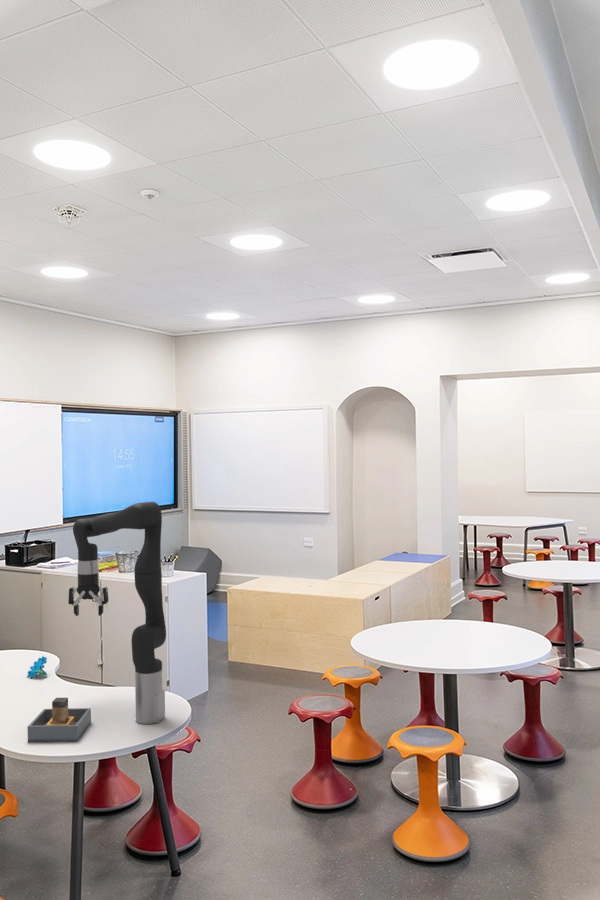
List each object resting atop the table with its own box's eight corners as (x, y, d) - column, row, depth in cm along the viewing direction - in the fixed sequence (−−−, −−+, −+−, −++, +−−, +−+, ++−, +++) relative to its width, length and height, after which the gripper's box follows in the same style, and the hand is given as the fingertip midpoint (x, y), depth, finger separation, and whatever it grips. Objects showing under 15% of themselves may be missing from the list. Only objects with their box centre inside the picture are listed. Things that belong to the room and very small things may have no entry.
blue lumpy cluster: (24, 670, 309) (42, 651, 312) (34, 678, 312) (52, 659, 314) (28, 681, 300) (46, 662, 302) (39, 689, 302) (57, 670, 305)
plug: (68, 727, 248) (68, 697, 248) (64, 731, 244) (64, 701, 244) (56, 727, 248) (56, 697, 248) (52, 732, 244) (52, 701, 244)
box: (91, 722, 254) (90, 708, 254) (77, 741, 238) (77, 725, 238) (44, 723, 254) (44, 708, 254) (27, 742, 238) (27, 726, 238)
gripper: (65, 573, 272) (66, 618, 272) (104, 573, 272) (105, 617, 272) (71, 570, 279) (72, 613, 279) (109, 569, 279) (110, 612, 279)
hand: (88, 615), depth 276 cm, fingers open, 8 cm apart
